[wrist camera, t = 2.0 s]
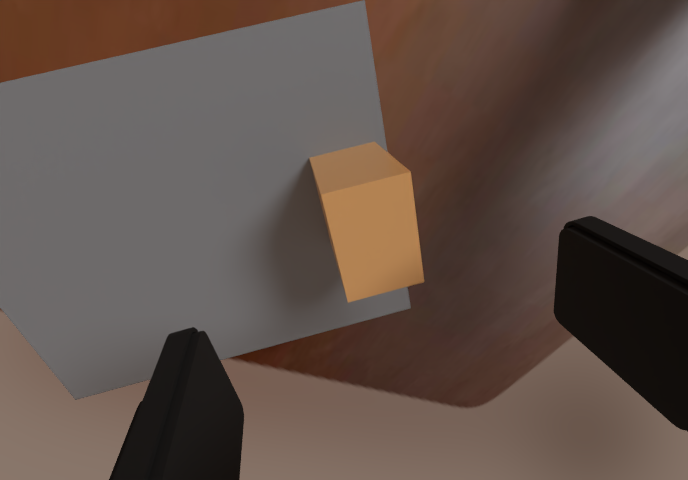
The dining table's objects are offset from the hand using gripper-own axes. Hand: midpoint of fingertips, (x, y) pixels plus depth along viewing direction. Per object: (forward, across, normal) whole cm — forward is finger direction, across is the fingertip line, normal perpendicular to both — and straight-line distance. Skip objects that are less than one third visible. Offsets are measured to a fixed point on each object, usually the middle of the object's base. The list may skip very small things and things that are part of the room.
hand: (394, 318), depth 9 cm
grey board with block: (+11, +7, 0) cm, 13 cm away
